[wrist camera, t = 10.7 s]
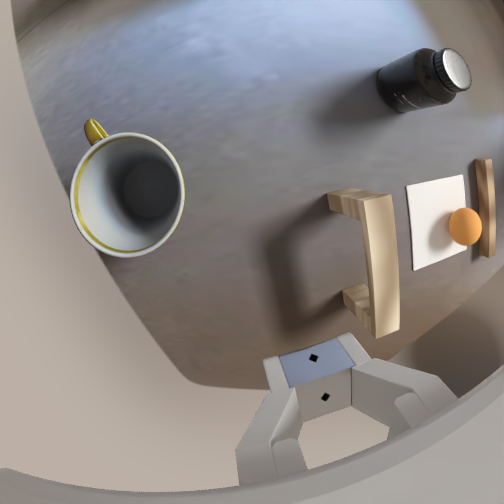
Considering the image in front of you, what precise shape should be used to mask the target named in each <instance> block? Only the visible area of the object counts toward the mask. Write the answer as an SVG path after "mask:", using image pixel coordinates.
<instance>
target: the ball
mask: <svg viewBox="0 0 504 504" xmlns="http://www.w3.org/2000/svg"><path fill="white" fill-rule="evenodd" d="M481 231H482V224H481V220H480V218H479V216H478V214H477V213H476V212H475V211H473V210H472V209H470V208H460V209H457V210H456V211H455V212H454V213H453V214H452V215H451V217H450V220H449V232H450V235H451V237H452V239H453V240H454V241H455V242H456V243H458V244H460V245H463V246H469V245H472V244H474V243H475V242H476V241H477V240H478V239H479V237H480V235H481Z"/></svg>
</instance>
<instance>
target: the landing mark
mask: <svg viewBox="0 0 504 504" xmlns="http://www.w3.org/2000/svg"><path fill="white" fill-rule="evenodd" d="M406 190H407V197H408V206H409V215H410V225H411V238H412V255H413V271H414V270H417V269H420V268H422V267H425V266H427V265H430V264H432V263H435V262H437V261H440V260H442V259H445V258H447V257H450V256H452V255H454V254H457V253H459V252H461V251H464V250H466V249H467V246H463V245H460V244H458V243H456V242H455V241H454V240H453V239H452V237H451V235H450V232H449V220H450V217H451V215H452V214H453V213H454V212H455V211H456V210H457V209H460V208H466V206H465V192H464V182H463V175H457V176H452V177H447V178H442V179H437V180H432V181H427V182H423V183H418V184H413V185H408V186H406Z"/></svg>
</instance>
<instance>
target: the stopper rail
mask: <svg viewBox="0 0 504 504" xmlns="http://www.w3.org/2000/svg"><path fill="white" fill-rule="evenodd" d="M475 168H476V177H477V187H478V201H479V218H480V220H481V224H482V231H481V235H480V237H479V254H480V255H483V256H485V257H487V258H490V257H492V256H494V255H495V238H496V211H495V190H494V177H493V168H492V159H475Z"/></svg>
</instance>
